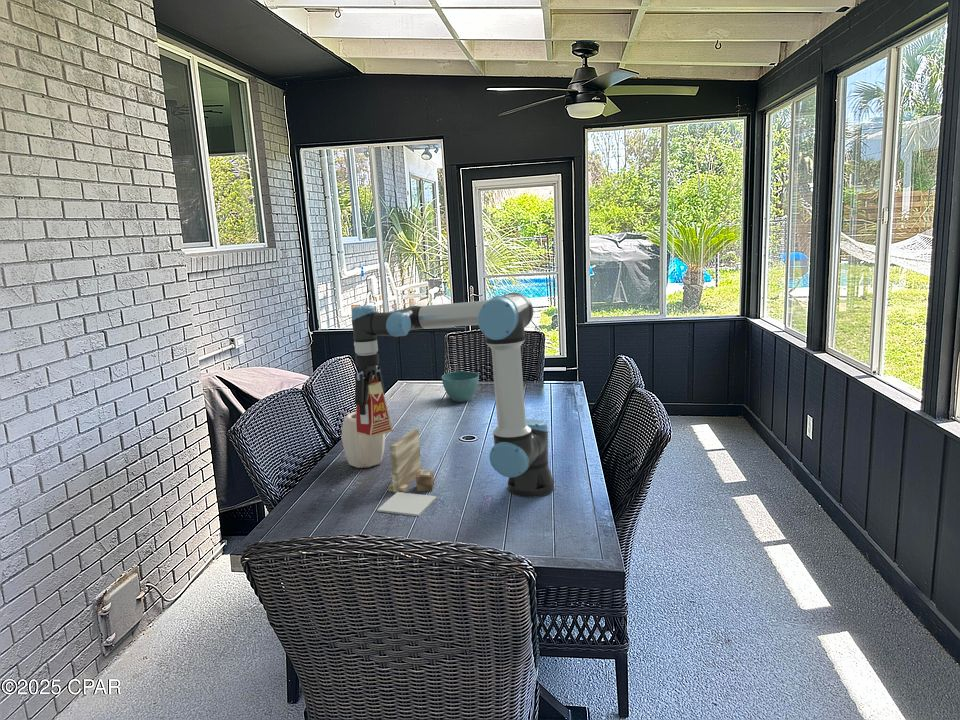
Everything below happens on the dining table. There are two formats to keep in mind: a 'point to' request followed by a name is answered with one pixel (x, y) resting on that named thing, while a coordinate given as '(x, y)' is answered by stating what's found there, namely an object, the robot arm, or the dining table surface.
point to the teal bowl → (460, 385)
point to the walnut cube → (425, 480)
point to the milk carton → (374, 412)
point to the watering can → (361, 445)
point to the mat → (407, 504)
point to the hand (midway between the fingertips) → (372, 419)
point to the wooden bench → (405, 461)
